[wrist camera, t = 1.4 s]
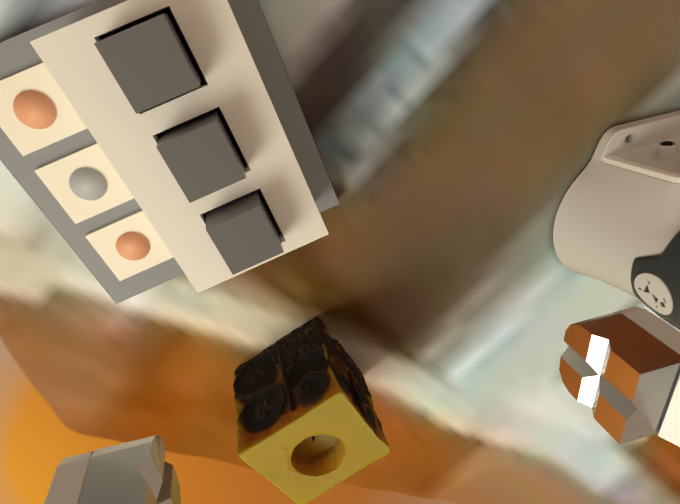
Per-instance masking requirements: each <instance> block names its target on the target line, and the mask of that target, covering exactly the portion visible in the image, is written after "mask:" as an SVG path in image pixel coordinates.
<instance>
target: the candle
mask: <svg viewBox="0 0 680 504" xmlns="http://www.w3.org/2000/svg"><path fill="white" fill-rule="evenodd" d="M234 374H235V381H234V384H233V386H234V393H235V396H234V399H235V404H236V414H237V425H238V427H239V428H238V431H237V436H238V445H237V446H238V456H239V457H240V458H241V459H242V460H243V461H244V462H246V463H247V464H248V465H250V466H251V467H252V468H254V469H255V470H256V471H258V472H259V473H260V474H262V475H263V476H265V477H266V478H267V479H268V480H270V481H271V482H272V483H273V484H275V485H276V486H277V487H278V488H279V489H280V490H281V491H283V493H285V494H286V495H287V496H289V497H290V498H291V499H292V500H293V501H295V502H296V503H297V504H306V503H308V502H309V501H311V500H313V499H314V498H316V497H317V496H319V495H320V494H322V493H324V492H325V491H327V490H328V489H330V488H331V487H333V486H335V485H336V484H338V483H340V482H342V481H343V480H345V479H346V478H348V477H350V476H351V475H353V474H354V473H356V472H357V471H359V470H361V469H362V468H364V467H366V466H367V465H369V464H371V463H373V462H375V461H376V460H378V459H380V458H382V457H383V456H385V455H387V454H389V453H390V452H391V449H390V447H389V445H388V443H387V441H386V438H385V436H384V433H383V430H382V426H381V423H380V420H379V419H378V417H377V415H376V412H375V410H374V408H373V402H372V399H371V394H370V392H369V391H368V388H367V386H366V383H365V379H364V377H363V375H362V372H361V371H360V370H359V369H358V368H357V366H356V365H355V364H354V362H353V359H351V358H350V356H349V355H348V353H347V352H346V351H345V350H344V348H343V347H342V346H341V344H339V343H338V340H333V339H331V338H330V336H329V334H328V332H327V329H326V326H325V325H324V324H323V322H322V321H321V320H320V319H319V318H318V317H317V318H314V319H313V320H312V321H311V322H308V323H306V324H304V325H303V326H302V327H301V328H299V329H296V330H294V331H293V332H291V333H290V334H289V335H287V336H286V337H284V338H282V339H280V340H279V341H277V342H276V343H275V344H274V345H273V346H270V347H268V348H267V349H266V350H264V351H263V352H261V353H260V354H259V355H258V356H256V357H255V358H253V359H252V360H250V361H249V362H247V363H245V364H243V365H240V366H239V367H238V368H237V369H236V370H235V373H234Z"/></svg>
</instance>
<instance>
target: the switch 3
mask: <svg viewBox="0 0 680 504" xmlns="http://www.w3.org/2000/svg"><path fill="white" fill-rule="evenodd" d="M206 231H207V233H208V234H209V236H210V238H211V239H212V241H213V243H214V244H215V246H216V248H217V249H218V251H219V253H220V254H221V256H222V258H223V259H224V261H225V263H226V264H227V266H228V268H229V269H230V271H231V273H232V274H233V275H234V274H236V273H239V272H241V271H243V270H245V269H247V268H250V267H252V266H254V265H256V264H259V263H261V262H263V261H265V260H267V259H270V258H272V257H274V256H276V255H279V254H281V253H283V252H284V251H283V247H282V244H281V240H280V237H279V233H278V230H277V226H276V223H275V219H274V216H273V214H272V212H271V210H270V208H269V206H268V204H267V202H266V200H265V198H264V196H263V194H262V192H261V190H260V188H259V189H257V190H255V191H253V192H250V193H248V194H246V195H244V196H241V197H239V198H237V199H235V200H232V201H230V202H228V203H226V204H223V205H221V206H219V207H217V208H214V209H212V210H210V211H207V214H206Z"/></svg>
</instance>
